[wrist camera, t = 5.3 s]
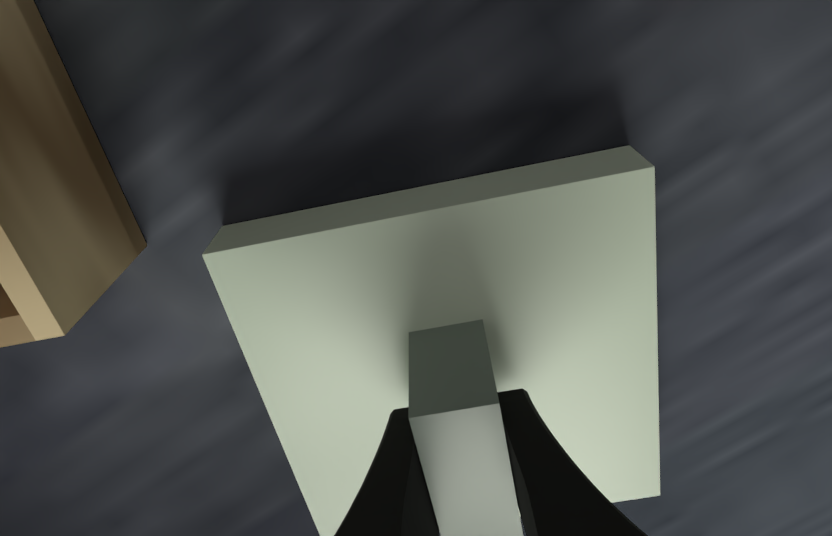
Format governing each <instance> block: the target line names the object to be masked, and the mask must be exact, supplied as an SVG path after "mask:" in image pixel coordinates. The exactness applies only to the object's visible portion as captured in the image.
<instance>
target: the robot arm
mask: <svg viewBox="0 0 832 536" xmlns="http://www.w3.org/2000/svg"><path fill="white" fill-rule="evenodd" d="M497 394H498V399H499V404H500V409H501V415H502V421H503V426H504V432H505V437H506V443H507V448H508V454H509V459H510V465H511V471H512V476H513V482H514V487H515V493H516V498H517V504H518V508H519V511H520V515H521V518H522V522H523V525H524V528H525V532H526V535H527V536H647V535H646V534H645V533H644V532H643V531H641V530H640V529H639V528H638V527H637V526H636V525H634V524H633V523H632V522H631V521H630V520H629V519H628V518H627V517H626V516H625V515H624V514H623V513H621V512H620V511H619V510H618V509H617V508H616V507H615V506H614V505H613V504H612V503H611V502H610V501H609V500H608V499H607V498H606V497H605V496H604V495H603V494H602V493H601V492H600V491H599V490H598V489H597V488H596V486H595V485H594V484H593V483H592V482H591V481H590V480H589V479H588V478H587V476H586V475H585V474H584V473H583V472H582V471H581V470H580V468H579V467H578V466H577V465H576V464H575V463H574V461H573V460H572V459H571V458H570V456H569V455H568V454H567V453H566V451H565V450H564V449H563V447H562V446H561V445H560V443H559V442H558V441H557V440H556V438H555V437H554V436H553V434H552V433H551V431H550V430H549V428H548V427H547V425H546V424H545V422H544V421H543V419H542V418H541V416H540V415H539V413H538V411H537V410H536V408H535V406H534V404H533V403H532V401H531V399H530V397H529V394H528V392H527V391H526V390H524V389H522V388H521V389H515V390H509V391H503V392H497ZM408 410H409V407H406V408H400V409H394V410H393V411H392V412H391V414H390V416H389V420H388V423H387V426H386V429H385V431H384V434H383V437H382V440H381V442H380V445H379V447H378V450H377V452H376V455H375V457H374V459H373V461H372V464H371V466H370V468H369V470H368V473H367V475H366V477H365V479H364V481H363V483H362V486H361V488H360V489H359V491H358V493H357V495H356V497H355V499H354V501H353V503H352V505H351V507H350V509H349V511H348V513H347V514H346V516H345V518H344V520H343V521H342V523H341V525H340V527H339V528H338V530H337V532H336V533H335V535H334V536H439V527H438V523H437V519H436V516H435V512H434V509H433V505H432V501H431V498H430V494H429V491H428V487H427V483H426V480H425V476H424V473H423V469H422V465H421V462H420V458H419V454H418V451H417V447H416V444H415V440H414V436H413V433H412V429H411V426H410V422H409V418H408Z"/></svg>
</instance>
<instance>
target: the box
mask: <svg viewBox="0 0 832 536" xmlns="http://www.w3.org/2000/svg"><path fill="white" fill-rule="evenodd" d="M146 246H147V244H146V242H145V239H144V237H143V235H142V233H141V231H140V229H139V226H138V224H137V222H136V220H135V218H134V216H133V214H132V211H131V209H130V207H129V205H128V203H127V201H126V199H125V196H124V194H123V192H122V190H121V188H120V186H119V183H118V181H117V179H116V177H115V175H114V173H113V171H112V168H111V166H110V164H109V162H108V160H107V158H106V155H105V153H104V151H103V149H102V147H101V145H100V143H99V140H98V138H97V136H96V134H95V132H94V130H93V128H92V125H91V123H90V121H89V119H88V117H87V115H86V112H85V110H84V108H83V106H82V104H81V102H80V100H79V97H78V95H77V93H76V91H75V89H74V87H73V84H72V82H71V80H70V78H69V76H68V74H67V72H66V69H65V67H64V65H63V63H62V61H61V59H60V56H59V54H58V52H57V50H56V48H55V46H54V44H53V41H52V39H51V37H50V35H49V33H48V31H47V29H46V26H45V24H44V22H43V20H42V18H41V16H40V13H39V11H38V9H37V7H36V5H35V3H34V1H33V0H0V347H5V346H11V345H16V344H22V343H27V342H32V341H38V340H43V339H48V338H54V337H59V336H65V335H66V334H67V332H68V331H69V330H70V329H71V328H72V327H73V326H74V325H75V324H76V323H77V322H78V320H79V319H80V318H81V317H82V316H83V315H84V314H85V313H86V312H87V311H88V310H89V308H90V307H91V306H92V305H93V304H94V303H95V302H96V301H97V300H98V299H99V298H100V296H101V295H102V294H103V293H104V292H105V291H106V290H107V289H108V288H109V287H110V286H111V284H112V283H113V282H114V281H115V280H116V279H117V278H118V277H119V276H120V275H121V274H122V272H123V271H124V270H125V269H126V268H127V267H128V266H129V265H130V264H131V263H132V261H133V260H134V259H135V258H136V257H137V256H138V255H139V254H140V253H141V252H142V251H143V249H144V248H145V247H146Z"/></svg>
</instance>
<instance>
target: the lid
mask: <svg viewBox="0 0 832 536" xmlns="http://www.w3.org/2000/svg"><path fill="white" fill-rule="evenodd" d="M202 256H203V259H204V261H205V263H206V266H207V268H208V270H209V273H210V275H211V278H212V280H213V282H214V285H215V287H216V289H217V292H218V294H219V297H220V299H221V301H222V304H223V306H224V308H225V311H226V313H227V316H228V318H229V320H230V323H231V325H232V328H233V330H234V332H235V335H236V337H237V339H238V342H239V344H240V347H241V349H242V351H243V354H244V356H245V358H246V361H247V363H248V366H249V368H250V370H251V373H252V375H253V377H254V380H255V382H256V385H257V387H258V389H259V392H260V394H261V397H262V399H263V401H264V404H265V406H266V408H267V411H268V413H269V416H270V418H271V420H272V423H273V425H274V427H275V430H276V432H277V435H278V437H279V439H280V442H281V444H282V446H283V449H284V451H285V454H286V456H287V458H288V461H289V463H290V466H291V468H292V470H293V473H294V475H295V477H296V480H297V482H298V485H299V487H300V489H301V492H302V494H303V496H304V499H305V501H306V504H307V506H308V508H309V511H310V513H311V516H312V518H313V520H314V523H315V525H316V527H317V530H318V532H319V535H320V536H334V535H335V533H336V532H337V530H338V528H339V527H340V525H341V523H342V521H343V520H344V518H345V516H346V514H347V513H348V511H349V509H350V507H351V505H352V503H353V501H354V499H355V497H356V495H357V493H358V491H359V489H360V488H361V486H362V483H363V481H364V479H365V477H366V475H367V473H368V470H369V468H370V466H371V464H372V461H373V459H374V457H375V455H376V452H377V450H378V447H379V445H380V442H381V440H382V437H383V434H384V431H385V429H386V426H387V423H388V420H389V416H390V414H391V412H392V411H393V410H394V409H400V408H406V407H409V410H408V418H409V422H410V426H411V429H412V433H413V436H414V440H415V444H416V447H417V451H418V454H419V458H420V462H421V465H422V469H423V473H424V476H425V480H426V483H427V487H428V491H429V494H430V498H431V501H432V505H433V509H434V512H435V516H436V519H437V523H438V527H439V530H440V534H441V536H523V532H522V526H521V521H520V516H521V515H520V511H519V508H518V504H517V498H516V493H515V487H514V482H513V476H512V471H511V465H510V459H509V454H508V448H507V443H506V437H505V432H504V426H503V421H502V415H501V409H500V404H499V399H498V394H497V392H503V391H509V390H515V389H521V388H522V389H524V390H526V391H527V392H528V394H529V397H530V399H531V401H532V403H533V404H534V406H535V408H536V410H537V411H538V413H539V415H540V416H541V418H542V419H543V421H544V422H545V424H546V425H547V427H548V428H549V430H550V431H551V433H552V434H553V436H554V437H555V438H556V440H557V441H558V442H559V443H560V445H561V446H562V447H563V449H564V450H565V451H566V453H567V454H568V455H569V456H570V458H571V459H572V460H573V461H574V463H575V464H576V465H577V466H578V467H579V468H580V470H581V471H582V472H583V473H584V474H585V475H586V476H587V478H588V479H589V480H590V481H591V482H592V483H593V484H594V485H595V486H596V488H597V489H598V490H599V491H600V492H601V493H602V494H603V495H604V496H605V497H606V498H607V499H608V500H609V501H610V502H611V503H613V502H620V501H626V500H633V499H640V498H647V497H654V496H660V456H659V397H658V337H657V278H656V218H655V167H654V166H653V165H652V164H651V163H650V162H649V161H647V160H646V159H645V158H644V157H643V156H642V155H640V154H639V153H638V152H637V151H636V150H634V149H633V148H632V147H631V146H630V145H628V146H623V147H618V148H613V149H608V150H603V151H598V152H593V153H588V154H583V155H577V156H572V157H567V158H562V159H557V160H552V161H547V162H542V163H537V164H532V165H527V166H522V167H517V168H512V169H507V170H502V171H497V172H492V173H487V174H482V175H477V176H472V177H467V178H462V179H457V180H452V181H447V182H441V183H436V184H431V185H426V186H421V187H416V188H411V189H406V190H401V191H396V192H391V193H386V194H381V195H376V196H371V197H366V198H361V199H356V200H351V201H346V202H341V203H336V204H331V205H326V206H321V207H316V208H310V209H305V210H300V211H295V212H290V213H285V214H280V215H275V216H270V217H265V218H260V219H255V220H250V221H245V222H240V223H235V224H230V225H225V226H222V227H221V228H220V230H219V231H218V233H217V234H216V235H215V237H214V238H213V240H212V241H211V243H210V244H209V245H208V247H207V248H206V250H205V251H204V253H203V254H202Z"/></svg>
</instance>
